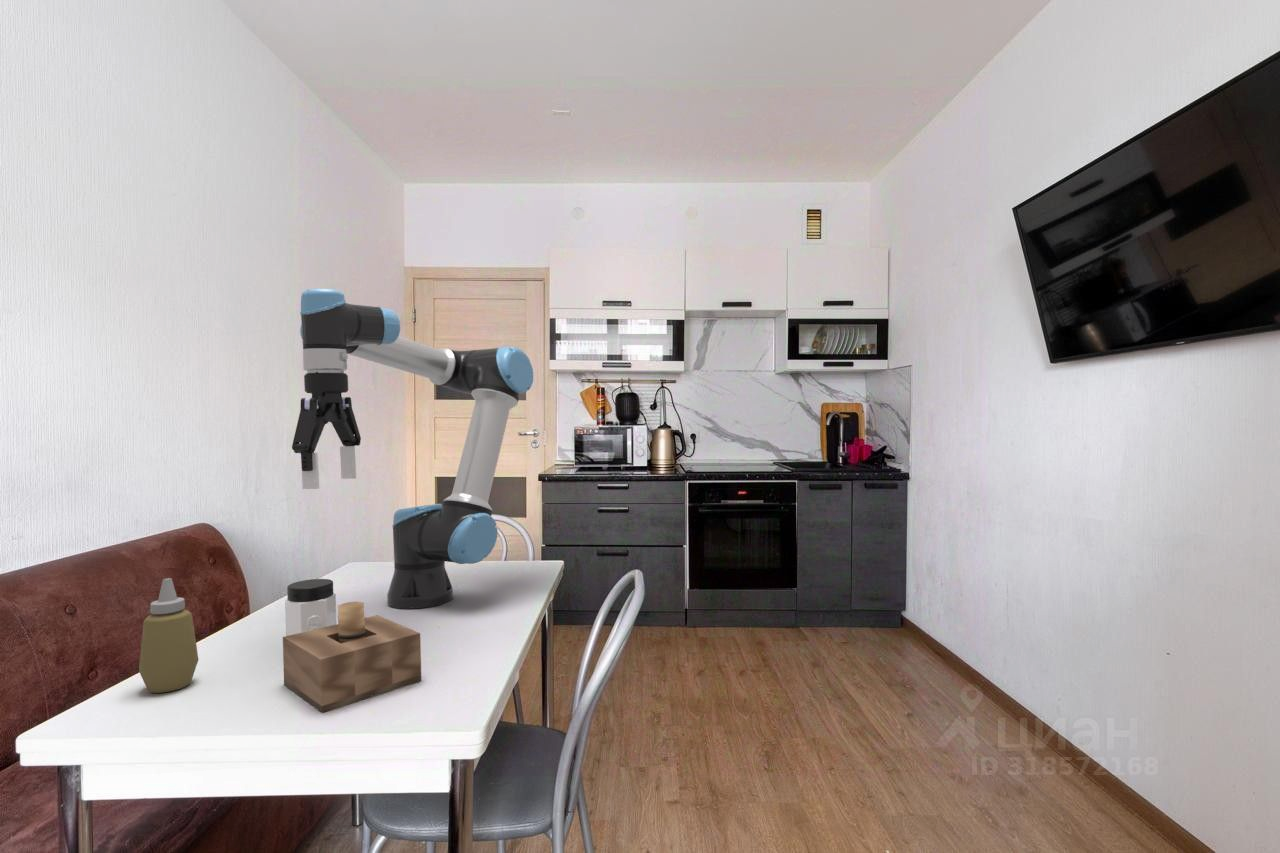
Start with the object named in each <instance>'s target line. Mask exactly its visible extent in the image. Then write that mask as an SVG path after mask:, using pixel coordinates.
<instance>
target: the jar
mask: <svg viewBox="0 0 1280 853" xmlns="http://www.w3.org/2000/svg"><path fill="white" fill-rule="evenodd" d="M286 588H287V592H286V593H287V595H286V596H287V597H286V598H287V599H286V600H285V601H284V602H285V603H284V605H285V606H284V610H285V611H284V612H285V614H284V615H285V616H284V618H285V636H289V635H293V634H298V633H302V632H306V631H311V630H315V629H319V628H323V627H328V626H332V625H336V624H337V598H336V597H337V596H336V593H335V592H334V581H333V580H332V579H329V578H315V579H314V578H313V579H304V580H299V581H295V582H291V583H290V584H288V585H287V587H286Z"/></svg>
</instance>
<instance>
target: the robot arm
mask: <svg viewBox="0 0 1280 853" xmlns="http://www.w3.org/2000/svg"><path fill="white" fill-rule="evenodd" d="M300 297H301V298H300V312H299V313H300V314H299V315H300V322H301V324H300V330H299V333H300V337H301V339H302V362H303V365H302V366H303V369H302V370H304V371H306V373H305V374H304V375H303V377H304V378H303V380H304V381H303V382H304V383H303V384H304V392H305V393H307V394H311V397H303V398H301V399H300V411H299V415H298V419H297V424H296V427H295V428H296V429H295V432H294V436H293V440H292V444H291V449H292V450H293V452H294V453H295V454H300V462H301V464H300V465H301V479H302V480H301V483H302V485H301V486H302V490H318V489H320V474H319V473H320V472H319V455H318V454H319V453H318V452H315V451H316V448H317V446H318V443H319V441H320V439H321V437H322V436H321V435H322V433H323V430H324V428H325V426H326V425H327V424H329V423H330V424H331V425H332V427H333V428H334V432H336V434H337V437H338V438H339V440H340V442H341V444H342V446H339V452H340V476H341V479H343V480H345V479H347V480H352V479H354V480H355V479H357V469H356V468H357V466H356V465H357V463H356V461H357V460H356V446H357V447H358V446H360V445H361V440H362V436H361V434H360V430H359V427H358V424H357V420H356V416H355V414H354V410H353V405H352V403H353V402H352V397H350V396H342V394H343V393H348V392H349V377H348V375H347V373H345V371H346V370H348V358H349V356H348V355H350V356H353V357H357V358H360V359H364V360H366V361H367V360H368V361H370V362H373V363H377V364H380V365H384V366H387V367H389V368H393V369H397V370H400V371H404V372H407V373H410V374H414V375H417V376H420V377H424V378H427V379H429V381H430V383H432V384H434V385H436V386H438V387H444V388H446V389H449V390H453V391H456V392H460V393H463V394H468V395H471V396H472V398H473V399H474V406H473V410H472V414H471V417H470V421H469V425H468V429H467V433H466V438H465V441H464V446H463V449H462V453H461V457H460V459H459V465H458V468H457V472H456V477H455V481H454V485H453V489H452V492H451V494H450V495H449V496H447V497H446V498H444V499H443V501H442V503H434V504H426V505H420V506H419V505H418V506H412V507H406V508H400V509H398V510H396V511H395V512H394V514H393V524H392V536H393V538H392V541H393V542H392V543H393V560H394V562H393V564H394V567H393V568H394V570H393V575H392V579H391V582H390V585H389V587H388V591H387V595H386V597H387V598H386V600H387V602H386V603H387V606H389V607H390V608H391V607H392V608H394V609H408V610H410V609H422V608H430V607H434V606H438V605H442V604H445V603H447V602H450V601H451V600H452V599H453V598H454V597H453V596H454V592H453V590H454V589H453V585H452V583H451V580H450V577H449V575H448V572H447V569H446V566H445V565H446V564H445V562H447V563H448V562H450V563H455V564H458V565H465V564H467V565H469V564H470V565H472V564H477V563H480V562H481V561H482V562H483V560H484V559H485V558H487V557H488V556H489V555H490V554H491V552H492V551H493V550H494V548H495V545H496V543H497V539H498V533H499V532H498V527H497V521H496V520H495V518H493V517H492V514H493V508H492V507H491V505H490V504H489V499H490V494H491V490H492V487H493V483H494V477H495V473H496V470H497V465H498V461H499V457H500V452H501V449H502V444H503V439H504V437H505V436H504V435H505V432H506V428H507V423H508V419H509V415H510V411H511V410H512V409H513V408H515V407H516V406H518V404H519V400H520V395H521V394H525V393H527V392H528V391H529V390H530V389H531V387H532V385H533V382H534V369H533V365H532V363H531V360H530V358H529V356H528V355H527V353H525V352H524V350H522V349H520V348H519V347H516V346H500V347H494V348H483V349H473V350H453V349H451V348H447V347H441V348H435V347H432V346H429V345H427V344H424V343H420V342H417V341H415V340H412V339H410V338H408V337H407V338H406V337H403V336H401V335H400V333H401V320H400V318H399V316H398V314H397V313H396V311H394V310H392V309H390V308H386V307H381V306H371V305H359V304H353V303H347V302H346V298H345V294H344V293H343V291H340V290H337V289H331V288H310V289H306V290H304V291H303V292H302V293H301V296H300Z"/></svg>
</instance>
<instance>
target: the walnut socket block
mask: <svg viewBox="0 0 1280 853" xmlns="http://www.w3.org/2000/svg"><path fill="white" fill-rule="evenodd" d="M364 619H365V630H366V634H365V638H361V639H357V640H353V641H349V642H345V643H339V638H338V632H339V630H338V623H336V625H332V626H328V627H323V628H319V629H315V630H311V631H306V632H302V633H298V634H293V635H289V636H286V635H285V636H282V651H283V652H282V655H283V660H282V662H283V686H284V687H286V688H287V689H288V690H290V691H291V690H292V691H291V692H293V693H294V692H295V693H294V694H296V695H297V696H298V695H299V697H300V698H301V699H302V698H303V700H304V701H305V702H306V701H307V703H308V704H309V703H310V706H312V707H313V706H314V707H313V708H315V709H316V710H317V709H318V710H317V711H319V712H320V713H321V712H323V713H327V712H329V711H332V710H335V709H338V708H341V707H344V706H347V705H350V704H353V703H356V702H360V701H363V700H367V699H369V698H372V697H376V696H379V695H382V694H386V693H388V692H390V691H394V690H398V689H400V688H403V687H407V686H411V685H412V684H416V683H418V682H422V656H421V654H422V652H421V650H422V648H421V645H422V644H421V632H419V631H416V630H414V629H412V628H409V627H407V626H405V625H402V624H399V623H397V622H395V621H393V620H390V619H387V618H385V617H383V616H380V615H378V614H375V615H372V616H368V617H367V616H366V617H364Z"/></svg>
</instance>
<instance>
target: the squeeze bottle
mask: <svg viewBox="0 0 1280 853" xmlns="http://www.w3.org/2000/svg"><path fill="white" fill-rule="evenodd" d="M185 601H186V600H185V598H184V597H179V596H178V595H177V592H176V589H175V586H174V582H173V579H172V577H168V578H164V579H162V582H161V586H160V590H159V594H158V599H157V600H154V601H152V602H150V606H149V607H150V608H149V609H150V610H149V611H150V615H148V616H147V617H146V618H145V619H144V620H143V625H142V634H141V644H140V645H141V646H140V652H139V653H140V654H139V664H138V665H139V666H138V672H139V675H140V676H141V678H142V681H143V683H144V685H145V687H146V689H147V692H149V693H153V694H158V693H159V694H161V693H169V692H172V691H177V690H179V689H180V690H181V689H182V688H185V687H187V686H189V685H190V684H191V683H192V680H193V677H194V676H195V675H194V674H195V671H196V668H197V665H198V662H199V652H198V646H197V640H196V632H195V627H194V619H193V613H192V612H190V611H189V610H188V609H185V608H186V602H185Z"/></svg>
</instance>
